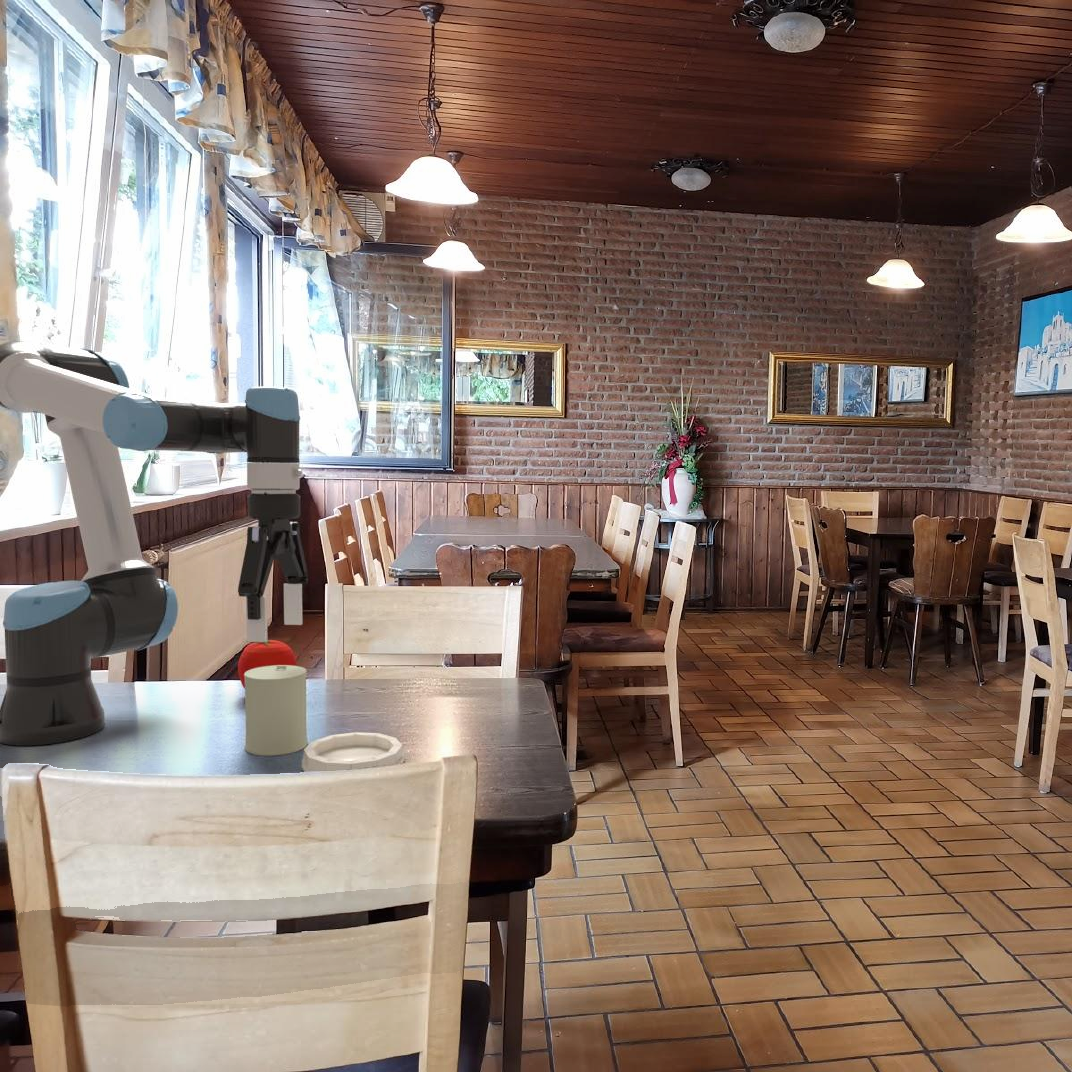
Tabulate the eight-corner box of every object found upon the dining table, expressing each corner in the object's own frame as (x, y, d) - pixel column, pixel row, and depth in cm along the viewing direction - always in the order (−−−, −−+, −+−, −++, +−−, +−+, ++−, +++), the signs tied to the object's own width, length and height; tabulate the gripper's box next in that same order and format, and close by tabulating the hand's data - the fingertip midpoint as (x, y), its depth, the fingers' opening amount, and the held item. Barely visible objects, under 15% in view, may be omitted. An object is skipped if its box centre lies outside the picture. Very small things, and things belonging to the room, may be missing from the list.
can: (313, 736, 133) (313, 662, 132) (299, 756, 123) (298, 676, 123) (255, 736, 132) (254, 661, 131) (236, 756, 123) (235, 676, 122)
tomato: (283, 685, 163) (283, 631, 162) (305, 697, 155) (305, 640, 154) (229, 694, 157) (228, 637, 156) (249, 706, 148) (248, 647, 148)
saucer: (285, 779, 114) (285, 761, 114) (322, 745, 128) (322, 729, 128) (389, 784, 113) (389, 766, 113) (414, 749, 127) (414, 733, 127)
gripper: (263, 494, 112) (266, 650, 114) (326, 490, 137) (328, 618, 139) (209, 493, 113) (213, 648, 114) (282, 490, 138) (284, 617, 139)
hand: (276, 632), depth 126 cm, fingers open, 13 cm apart
